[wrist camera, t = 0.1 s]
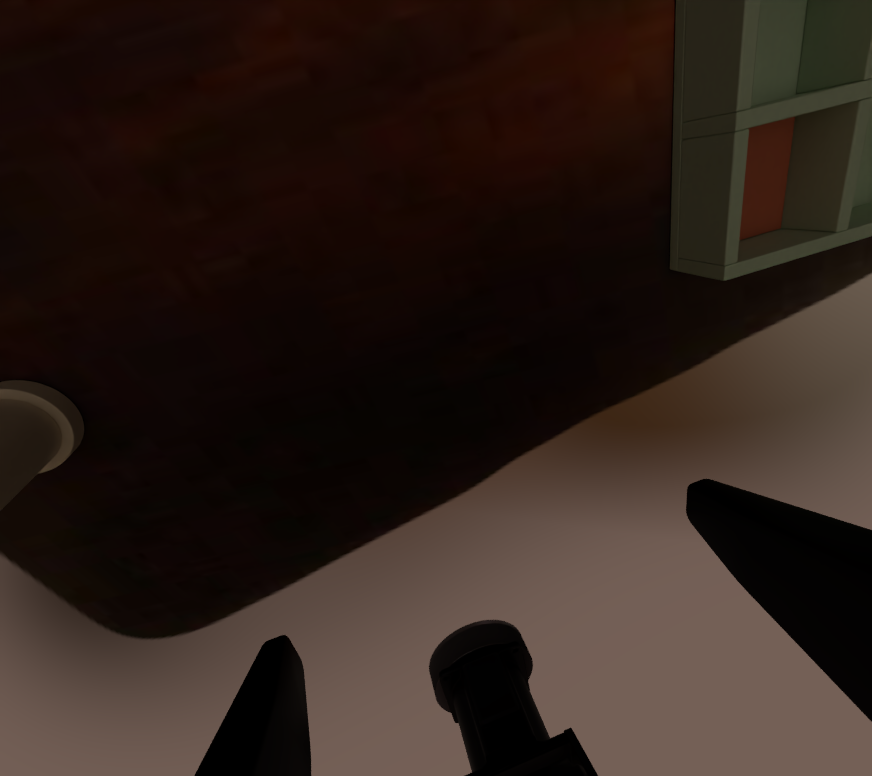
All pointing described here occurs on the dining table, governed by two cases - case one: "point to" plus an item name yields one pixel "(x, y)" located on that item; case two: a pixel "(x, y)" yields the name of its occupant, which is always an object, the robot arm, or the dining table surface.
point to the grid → (769, 132)
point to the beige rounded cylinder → (34, 433)
